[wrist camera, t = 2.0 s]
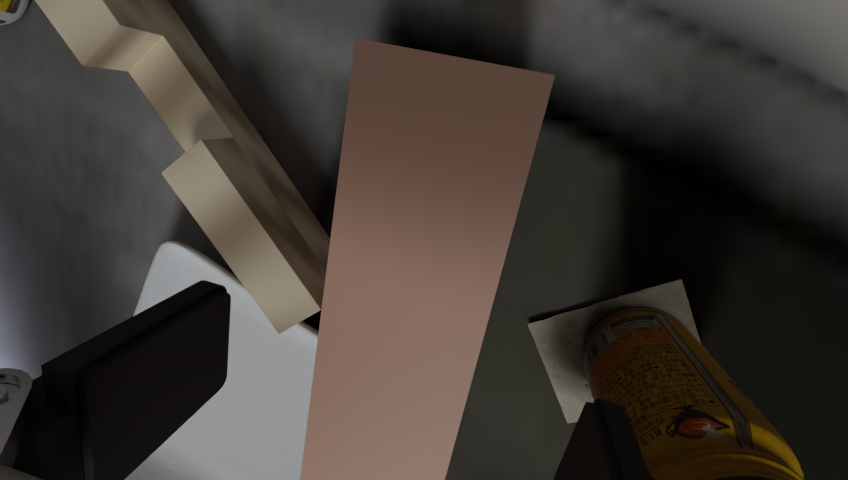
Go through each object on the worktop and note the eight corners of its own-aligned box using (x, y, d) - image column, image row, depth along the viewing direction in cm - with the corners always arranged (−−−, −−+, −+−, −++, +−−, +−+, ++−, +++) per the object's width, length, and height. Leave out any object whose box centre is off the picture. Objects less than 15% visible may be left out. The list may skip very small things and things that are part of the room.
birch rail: (355, 274, 25) (320, 309, 21) (319, 295, 26) (278, 334, 22) (83, -123, 22) (-33, -190, 17) (53, -83, 23) (-65, -136, 18)
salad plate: (470, 391, 27) (465, 428, 23) (332, 564, 34) (314, 611, 31) (198, 218, 27) (156, 232, 24) (118, 426, 34) (77, 458, 31)
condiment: (715, 390, 23) (913, 644, 12) (567, 421, 26) (616, 659, 14) (679, 277, 22) (866, 444, 11) (526, 321, 24) (546, 496, 13)
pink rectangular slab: (456, 364, 26) (406, 619, 13) (396, 347, 26) (288, 575, 13) (523, 103, 21) (554, 75, 8) (447, 88, 21) (355, 38, 8)
